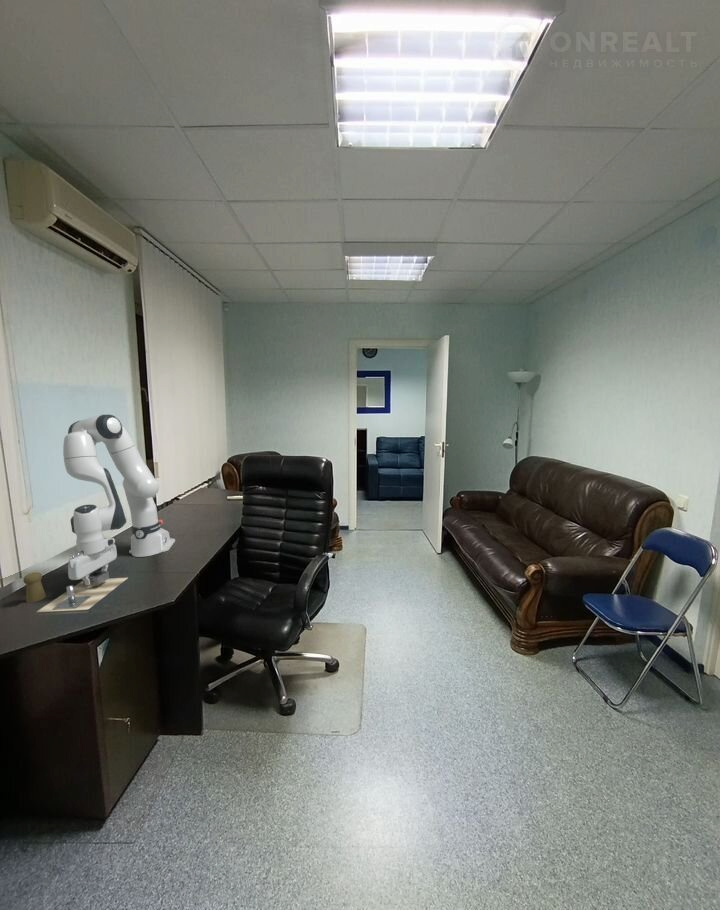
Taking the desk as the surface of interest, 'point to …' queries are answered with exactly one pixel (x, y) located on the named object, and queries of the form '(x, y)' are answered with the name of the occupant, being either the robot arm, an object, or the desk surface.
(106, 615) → the desk surface
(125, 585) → the desk surface
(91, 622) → the desk surface
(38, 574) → the cork
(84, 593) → the board
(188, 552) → the desk surface
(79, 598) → the post
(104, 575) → the link
